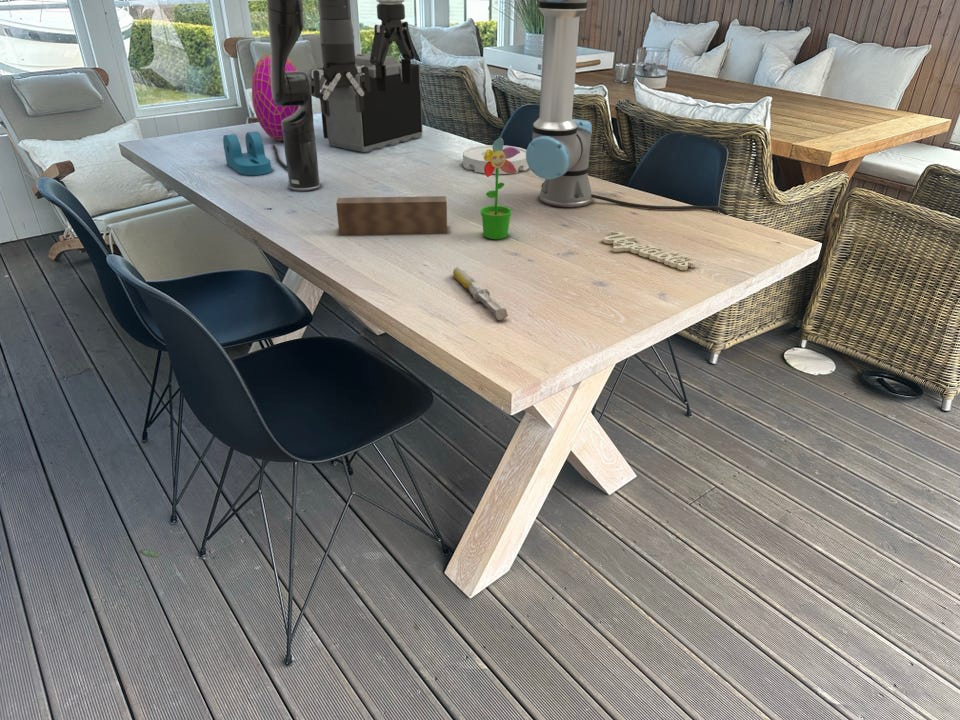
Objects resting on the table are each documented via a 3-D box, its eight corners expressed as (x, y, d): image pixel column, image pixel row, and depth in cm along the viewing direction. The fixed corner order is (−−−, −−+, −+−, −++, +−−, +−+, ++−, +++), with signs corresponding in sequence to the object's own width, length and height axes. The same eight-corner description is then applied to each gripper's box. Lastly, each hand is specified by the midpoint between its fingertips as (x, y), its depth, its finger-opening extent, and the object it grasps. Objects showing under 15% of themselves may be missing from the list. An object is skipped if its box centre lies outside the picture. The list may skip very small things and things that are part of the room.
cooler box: (385, 129, 283) (380, 49, 267) (426, 136, 272) (424, 54, 256) (318, 145, 257) (309, 59, 242) (361, 155, 246) (354, 64, 231)
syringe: (449, 274, 155) (449, 263, 153) (465, 272, 156) (464, 260, 154) (490, 323, 135) (491, 310, 133) (508, 319, 136) (508, 307, 134)
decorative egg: (293, 132, 276) (283, 50, 261) (319, 140, 264) (310, 56, 249) (249, 139, 265) (236, 54, 250) (273, 148, 253) (261, 60, 238)
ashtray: (464, 155, 246) (464, 144, 244) (529, 157, 246) (529, 145, 244) (461, 173, 226) (461, 161, 224) (531, 174, 226) (531, 162, 224)
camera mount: (227, 164, 233) (221, 132, 227) (257, 160, 238) (252, 129, 233) (244, 176, 220) (239, 143, 215) (276, 172, 225) (271, 139, 220)
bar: (446, 227, 182) (445, 196, 178) (447, 233, 178) (446, 201, 174) (341, 229, 180) (338, 197, 176) (339, 235, 176) (336, 203, 172)
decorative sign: (589, 238, 172) (614, 230, 178) (588, 242, 173) (613, 233, 179) (677, 270, 156) (702, 259, 161) (677, 274, 156) (701, 263, 162)
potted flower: (487, 243, 172) (489, 140, 159) (473, 233, 178) (473, 134, 165) (519, 237, 176) (524, 137, 163) (505, 227, 182) (508, 130, 169)
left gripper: (358, 37, 163) (363, 108, 171) (301, 40, 156) (309, 114, 164) (372, 40, 158) (377, 113, 166) (314, 44, 151) (322, 120, 159)
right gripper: (402, 0, 196) (405, 80, 207) (352, 5, 177) (359, 92, 187) (425, 1, 194) (427, 81, 204) (377, 6, 174) (382, 94, 185)
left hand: (343, 114), depth 165 cm, fingers open, 8 cm apart
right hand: (394, 87), depth 196 cm, fingers open, 13 cm apart
